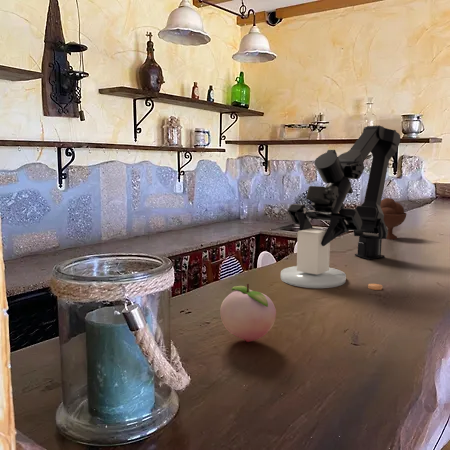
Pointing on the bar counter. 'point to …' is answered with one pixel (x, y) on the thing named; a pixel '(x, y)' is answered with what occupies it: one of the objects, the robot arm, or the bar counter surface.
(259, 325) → the decorative fruit
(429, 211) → the bar counter surface
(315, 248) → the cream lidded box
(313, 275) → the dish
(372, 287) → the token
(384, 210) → the ice cream bowl
